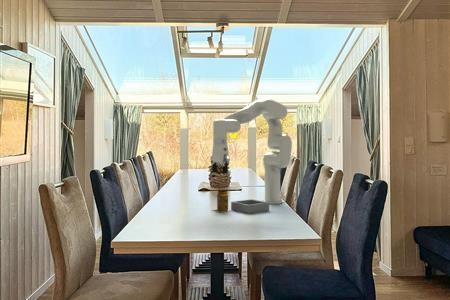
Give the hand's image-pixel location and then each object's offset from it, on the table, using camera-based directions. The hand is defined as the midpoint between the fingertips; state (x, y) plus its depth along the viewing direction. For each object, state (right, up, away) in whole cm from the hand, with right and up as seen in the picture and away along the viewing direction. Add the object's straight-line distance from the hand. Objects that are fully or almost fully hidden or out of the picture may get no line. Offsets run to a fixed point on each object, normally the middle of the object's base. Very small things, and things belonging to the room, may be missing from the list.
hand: (219, 173), depth 224 cm
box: (+17, -21, +2) cm, 27 cm away
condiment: (+1, -21, +1) cm, 21 cm away
